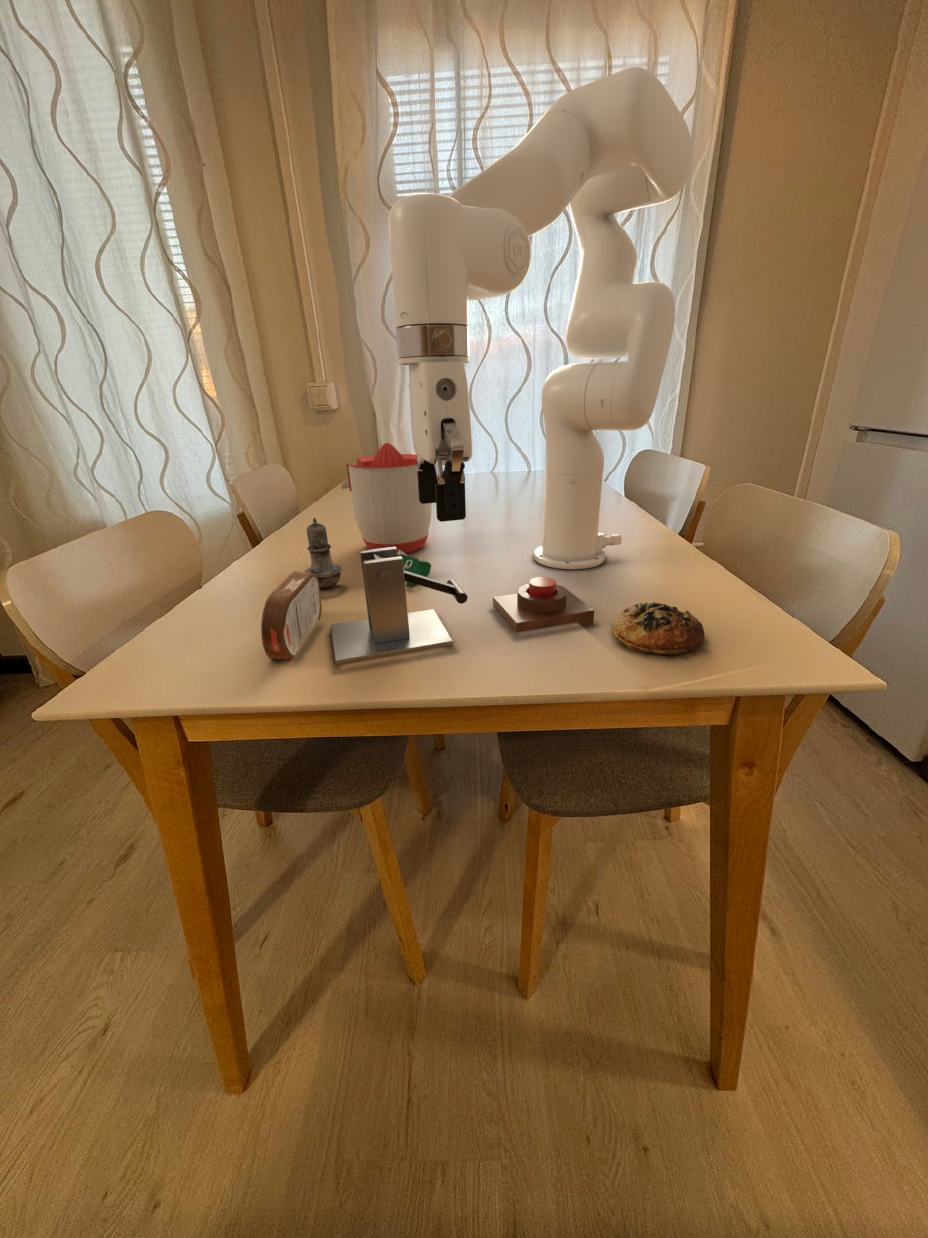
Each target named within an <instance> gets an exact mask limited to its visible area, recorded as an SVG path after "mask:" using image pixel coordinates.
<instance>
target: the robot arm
mask: <svg viewBox="0 0 928 1238" xmlns="http://www.w3.org/2000/svg"><path fill="white" fill-rule="evenodd" d="M692 144H693V143H692V137H691V133H690V130H689V127H688V124H687V122H686V120H685V118H684V115H682V112H681V111H680V109H679V108H678V106H677V105H676V103H675V101H674V99H673V98H672V96H671V95H670V93H669V92H668V90H667V88H666V87H665V86H664V84H663V83H662V82H661V80H660V79H659V78H658V77H657V76H656V75H655V74H654V73H652V72H651V71H650V70H648V69H646V68H644V67H639V66H633V67H632V66H631V67H628V68H625V69H622V70H620V71H617V72H614V73H612V74H609V75H607V76H604V77H602V78H599V79H596V80H593V81H591V82H589V83H586V84H584V85H581V86H579V87H576V88H574V89H572V90H569V91H568V92H566V93H564V94H563V95H562V96H559V98H557V100H556V101H555V102H554V103H552V104H551V105H550V106H549V108H548V109H547V110H546V111H545V113H543V115H542V116H540V118H539V119H538V120H537V122H535V124H534V125H533V126H532V127H531V128H530V130H528V132H527V133H526V134H525V135H523V137H522V138H521V140H520V141H519V142H518V143H517V144H516V145H515V146H514V147H513V148H512V149H511V150H509V151H508V152H506V153H504V154H503V155H502V156H500V157H499V158H497V159H496V160H494V161H493V162H492V163H491V164H490V165H488V166H486V167H485V168H484V169H483V170H482V171H480V172H479V173H478V174H476V175H475V176H474V177H472V178H471V179H469V180H467V181H466V182H465V183H464V184H462V185H461V186H459V187H458V188H457V189H455V190H454V191H453V192H450V194H448V195H445V194H441V193H429V192H427V193H426V192H425V193H424V192H423V193H415V194H410V195H407V196H403V197H402V198H399V199H398V200H396V202H394V203H393V205H392V206H391V208H390V211H389V214H388V235H389V236H388V237H389V249H390V263H391V264H390V265H391V277H392V289H393V304H394V318H395V319H394V320H395V328H396V329H395V330H396V331H395V332H396V344H397V345H396V346H397V358H398V365H399V366H408V388H409V409H410V410H409V411H410V426H411V438H412V447H413V451H414V454H416V455H418V460H417V467H418V470H419V471H417V475H418V491H419V501H420V503H422V504H427V503H432V504H435V511H436V512H435V513H436V519H437V521H438V522H441V523H444V522H454V521H462V520H465V519H466V517H467V511H466V509H467V508H466V507H467V506H466V474H465V468H466V465H465V462H466V463H467V462H469V461H470V460H471V459H472V457H473V437H472V422H471V405H470V395H469V394H470V393H469V384H468V375H467V370H466V369H467V368H466V364H470V332H469V331H470V330H469V329H470V328H469V326H470V324H469V321H470V320H469V319H470V318H469V301H479V300H485V299H492V298H499V297H501V296H505V295H508V294H510V293H511V292H513V291H515V290H516V289H518V288H519V287H520V286H521V285H522V283H523V282H524V281H525V279H526V277H527V275H528V273H529V270H530V267H531V262H532V245H531V240H530V237H531V236H533V235H536V234H537V233H539V232H541V231H543V230H544V229H546V228H548V227H550V226H551V225H552V224H553V223H555V222H556V221H557V220H558V219H559V218H560V217H561V215H562V214H563V212H564V211H565V210H566V209H567V207H568V208H569V211H570V215H571V218H572V222H573V226H574V230H575V234H576V237H577V241H578V246H579V257H580V259H579V266H578V272H577V278H576V281H575V285H574V291H573V296H572V300H571V305H570V309H569V314H568V319H567V325H566V331H565V343H566V348H567V350H568V351H569V353H570V354H571V355H572V356H574V357H575V358H579V359H583V360H584V359H585V360H607V359H621V358H622V359H623V358H624V359H625V358H626V360H624V361H606V362H605V361H597V362H579V363H570V364H565V365H562V366H560V367H557V368H556V369H554V370H553V371H552V372H550V373H549V375H547V377H546V378H545V380H544V382H543V385H542V389H541V408H542V415H543V422H544V430H545V431H544V432H545V470H544V471H545V472H544V473H545V474H544V495H543V496H544V498H543V523H542V524H543V527H542V529H543V530H542V545H540V546H538V547H537V548H535V549H534V551H533V559H534V560H535V561H536V563H538V564H540V565H542V566H545V567H548V568H554V569H559V570H584V569H590V568H595V567H597V566H599V565H601V564H603V563H604V562H605V559H606V558H605V557H606V554H605V551H604V550H603V549H605V548H607V546H610V547H613V546H619V545H621V544H622V543H623V542H622V541H623V537H622V535H621V534H620V533H617V534H615V533H614V534H609V535H608V533H607V532H599V525H600V511H601V499H602V487H603V476H604V475H603V474H604V473H603V472H604V467H605V466H604V465H605V458H604V451H603V449H602V446H601V444H600V442H599V440H598V438H597V436H596V435H595V433H594V431H622V432H623V431H625V432H626V431H636V430H639V429H641V428H643V427H644V426H645V425H647V423H648V422H649V420H650V419H651V417H652V415H653V412H654V409H655V407H656V403H657V399H658V396H659V391H660V388H661V387H660V386H661V385H662V384H661V383H662V379H663V375H664V371H665V368H666V362H667V359H668V355H669V351H670V347H671V344H672V338H673V335H674V334H673V333H674V328H675V321H676V302H675V301H676V300H675V297H674V293H673V291H672V290H671V288H670V287H669V286H668V285H666V284H665V283H663V282H660V281H643V282H642V281H641V282H636V283H635V282H634V280H635V274H636V270H637V266H638V252H637V251H638V250H637V248H636V246H635V244H634V242H633V240H632V239H631V237H630V235H629V233H628V232H627V231H626V230H625V229H624V227H623V226H622V225H621V223H620V222H619V220H618V218H617V216H616V214H620V213H624V212H629V211H633V210H638V209H642V208H646V207H651V206H656V205H660V204H664V203H667V202H668V201H671V200H673V199H674V198H676V196H677V195H679V194H680V192H681V191H682V190H683V188H684V187H685V185H686V183H687V180H688V178H689V175H690V172H691V168H692V161H693V145H692ZM420 470H422V471H420Z"/></svg>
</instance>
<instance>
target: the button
mask: <svg viewBox="0 0 928 1238" xmlns="http://www.w3.org/2000/svg"><path fill="white" fill-rule="evenodd" d="M528 584H529V595H532V596H535V597H552V596H554V595H556V584H557V581H556V580H555V579H554V578H551V577H547V576H538V577H533V578H531V579H529V580H528Z"/></svg>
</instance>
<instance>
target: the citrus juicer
mask: <svg viewBox="0 0 928 1238" xmlns="http://www.w3.org/2000/svg"><path fill="white" fill-rule="evenodd" d="M417 460H418V455H417V454H416V453H401V452H400V451H399V450H398V449H397V448H396V447H395V446H394V445H393V444H392V443H390V442H384V443H383V444H382V445H381V447H380V448H379V449H378V451H377V452H376V454H375V455H369V456H362V457H357V458H356V465H355V464H351V463H349V462H346V471H347V478H348V479H346V480H345V481H343V482H342V484H341V490H345V489H349V492H351V498H352V506H353V513H354V517H355V520H356V521H355V522H356V524H357V527H358V530H359V532H360V535H361V537H362V540H363V543H364V544H365V545H366V547H367V550H371V549H380V548H388V547H396V549H397V554H398V550H400V551H402V552H404V553H405V554H410V553H413V552H414V551H416V550H419V549H422V548H423V547H424V546H425V545H426V543H427V540H428V537H429V534H430V532H429V531H430V528H431V523H432V522H431V520H432V512H433V511H432V504H433V503H427V504H422V503H420V501H419V491H418V475H417V471H419V470H418V467H417ZM420 471H422V470H420Z"/></svg>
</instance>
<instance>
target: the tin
mask: <svg viewBox="0 0 928 1238" xmlns="http://www.w3.org/2000/svg"><path fill="white" fill-rule="evenodd" d="M321 616H322V600H321V589H320V588H319V580H318V578H317V576H316V575H315V574H313V573H304V571H303V572H300V571H297V570H296V571H295V570H294V571H293V572H291V573H290V574H289V575H288V576H287V577H285V579H284V580H283V581H282V582H281V583H280V584H279V585H278V586H276V588H275V589H274V590H273V591H272V592H271V593H270V594H269V595H268V597H267V598H266V601H265V603H264V607H263V611H262V615H261V623H260V631H261V643H262V647H263V650H264V653H265V655H266V656H267V658H269V659H270V660H271V661H273V660H284V661H285V660H293V659H294V658H295V657H296V654H297V652H298V650H299V649H300V648H301V646H302V645H303V644H304V642H305V641H306V639H307V638H308V636H309V635H310V633H311V631H312V630H313V628H314V626H315V625H316V624H317V623H318V621H320V619H321Z"/></svg>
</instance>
